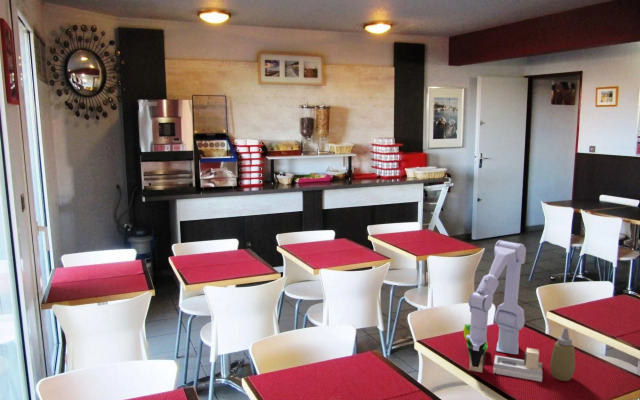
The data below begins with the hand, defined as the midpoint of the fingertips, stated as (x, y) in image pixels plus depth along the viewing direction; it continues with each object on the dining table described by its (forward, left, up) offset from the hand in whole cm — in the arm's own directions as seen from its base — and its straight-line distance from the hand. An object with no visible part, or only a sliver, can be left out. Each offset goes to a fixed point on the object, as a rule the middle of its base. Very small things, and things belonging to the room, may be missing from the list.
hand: (476, 361), depth 190 cm
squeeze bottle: (-5, +29, -3) cm, 29 cm away
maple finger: (0, 0, -3) cm, 3 cm away
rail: (-4, +14, -3) cm, 15 cm away
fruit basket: (-14, -2, -3) cm, 15 cm away
